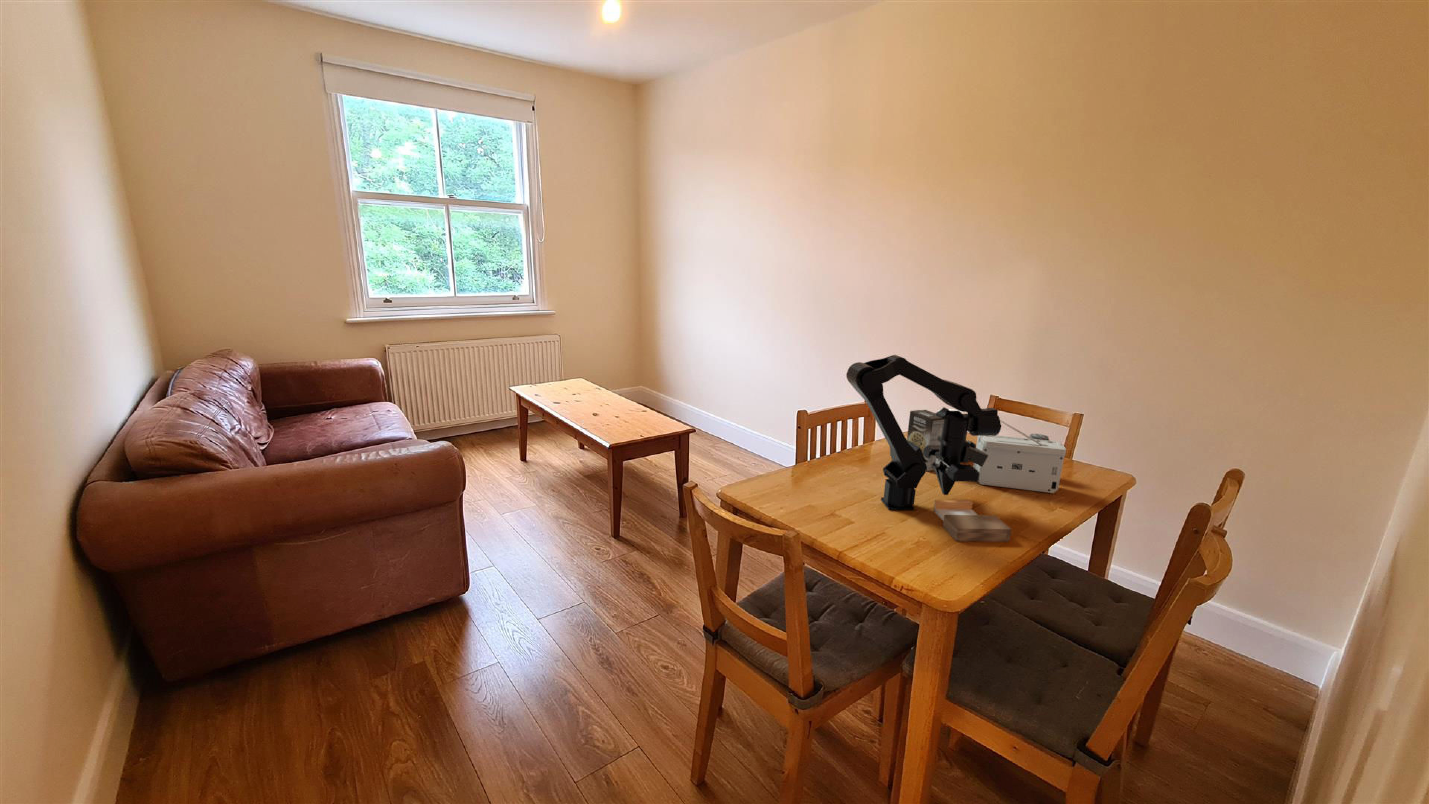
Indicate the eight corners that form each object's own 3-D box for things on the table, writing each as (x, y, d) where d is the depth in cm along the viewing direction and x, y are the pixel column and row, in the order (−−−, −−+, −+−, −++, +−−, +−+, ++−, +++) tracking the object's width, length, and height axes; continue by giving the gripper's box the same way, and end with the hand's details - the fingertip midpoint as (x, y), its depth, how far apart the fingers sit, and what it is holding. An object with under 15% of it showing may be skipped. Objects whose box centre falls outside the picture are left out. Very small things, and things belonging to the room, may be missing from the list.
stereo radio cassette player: (1051, 485, 159) (1064, 416, 154) (1060, 496, 152) (1074, 424, 147) (971, 475, 165) (981, 408, 160) (975, 486, 157) (986, 416, 152)
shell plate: (947, 526, 132) (949, 514, 132) (933, 511, 140) (934, 500, 139) (985, 527, 133) (987, 515, 132) (969, 512, 141) (970, 500, 140)
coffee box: (902, 461, 174) (909, 410, 170) (918, 459, 177) (925, 408, 173) (925, 471, 166) (932, 418, 162) (941, 468, 169) (948, 416, 165)
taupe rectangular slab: (956, 541, 125) (957, 528, 124) (942, 526, 132) (944, 514, 131) (1009, 541, 126) (1011, 529, 125) (993, 527, 132) (995, 515, 132)
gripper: (1006, 448, 131) (995, 511, 135) (967, 425, 149) (959, 480, 153) (959, 447, 131) (949, 510, 134) (926, 424, 149) (918, 480, 152)
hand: (945, 494), depth 144 cm, fingers closed
